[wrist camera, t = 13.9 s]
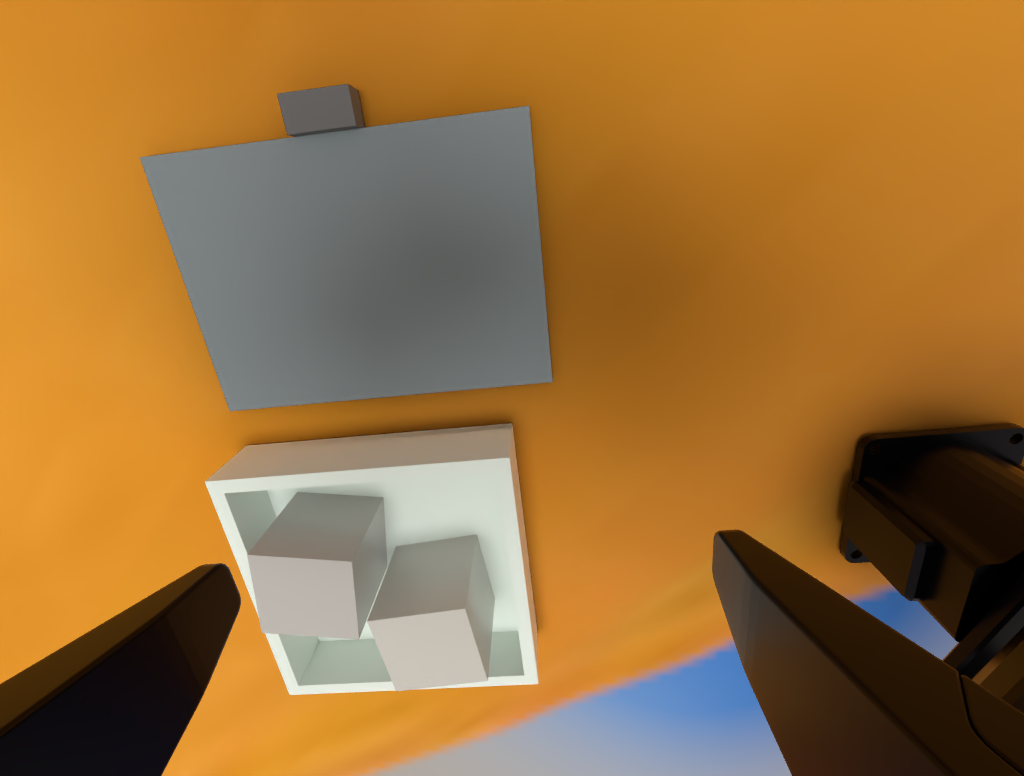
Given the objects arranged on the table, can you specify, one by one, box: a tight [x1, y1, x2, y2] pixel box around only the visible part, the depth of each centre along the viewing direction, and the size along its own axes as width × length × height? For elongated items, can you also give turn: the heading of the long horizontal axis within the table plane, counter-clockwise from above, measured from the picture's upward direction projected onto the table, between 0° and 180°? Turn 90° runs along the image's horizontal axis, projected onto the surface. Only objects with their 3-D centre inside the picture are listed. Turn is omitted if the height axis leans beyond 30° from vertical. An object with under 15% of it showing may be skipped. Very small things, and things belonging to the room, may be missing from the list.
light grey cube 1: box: [367, 534, 495, 691], centre depth 21 cm, size 4×4×4 cm
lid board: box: [140, 84, 553, 411], centre depth 18 cm, size 14×11×1 cm
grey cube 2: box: [247, 492, 387, 640], centre depth 21 cm, size 4×4×4 cm
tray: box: [205, 423, 538, 695], centre depth 22 cm, size 12×12×3 cm
